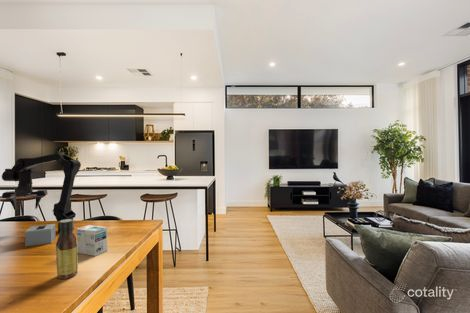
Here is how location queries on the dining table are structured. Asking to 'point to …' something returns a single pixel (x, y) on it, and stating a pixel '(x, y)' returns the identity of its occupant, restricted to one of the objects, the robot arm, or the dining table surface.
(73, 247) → the sauce bottle
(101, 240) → the light bulb box
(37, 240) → the coin box
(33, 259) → the dining table surface
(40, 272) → the dining table surface
